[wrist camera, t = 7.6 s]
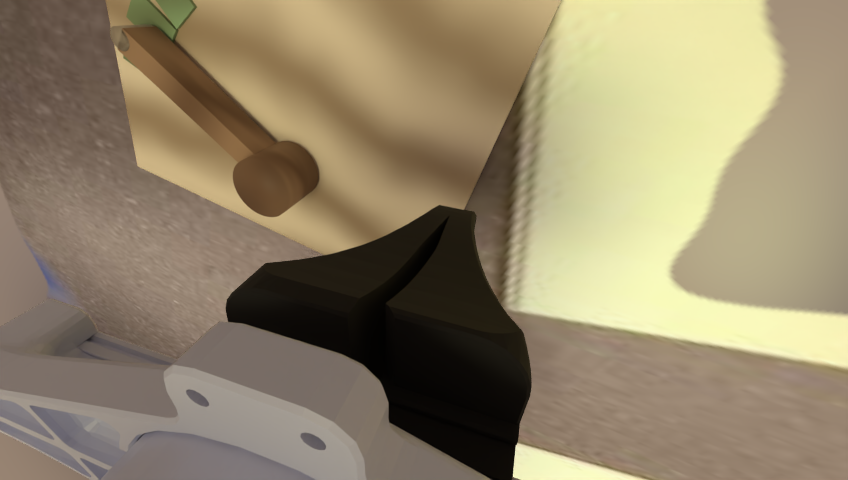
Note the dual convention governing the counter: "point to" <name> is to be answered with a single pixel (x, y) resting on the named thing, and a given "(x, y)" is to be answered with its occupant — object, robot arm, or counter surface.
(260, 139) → the tuning peg
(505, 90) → the dial board
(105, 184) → the counter surface
